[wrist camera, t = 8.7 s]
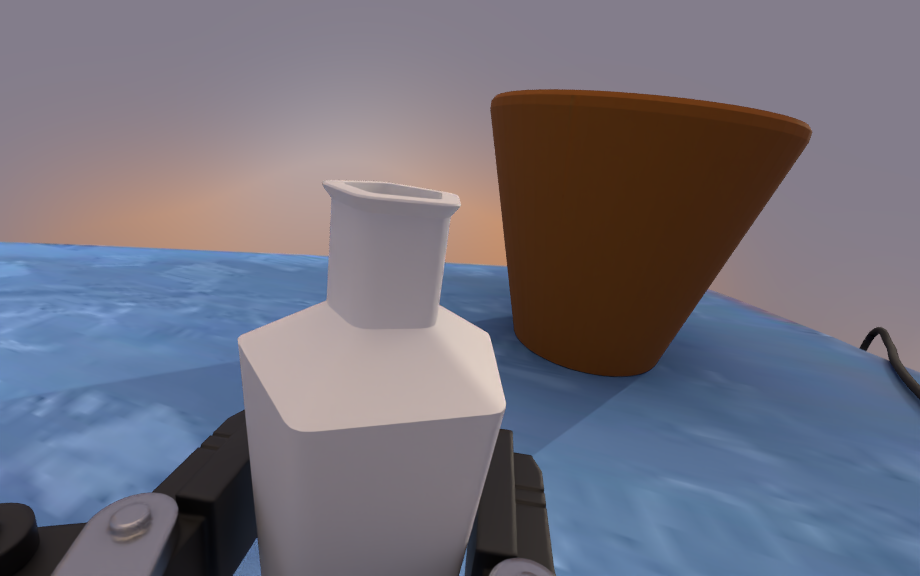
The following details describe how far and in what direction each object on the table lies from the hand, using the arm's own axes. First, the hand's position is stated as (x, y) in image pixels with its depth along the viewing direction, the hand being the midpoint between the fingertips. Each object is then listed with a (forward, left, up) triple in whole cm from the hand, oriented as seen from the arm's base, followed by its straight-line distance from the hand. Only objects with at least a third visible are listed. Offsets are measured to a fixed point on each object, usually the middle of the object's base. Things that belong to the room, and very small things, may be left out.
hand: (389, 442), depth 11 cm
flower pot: (-33, -2, -9) cm, 34 cm away
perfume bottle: (+2, +1, -9) cm, 9 cm away
